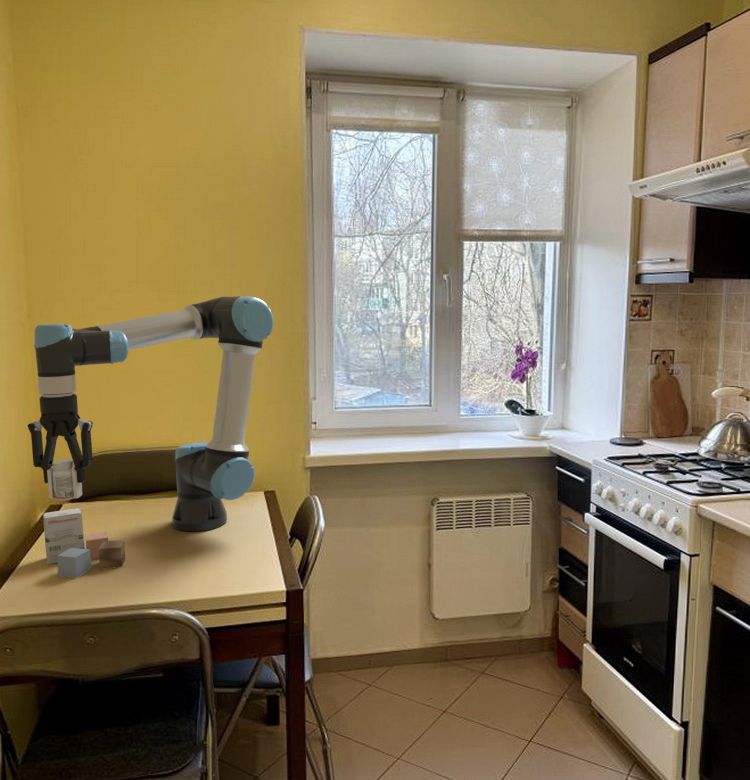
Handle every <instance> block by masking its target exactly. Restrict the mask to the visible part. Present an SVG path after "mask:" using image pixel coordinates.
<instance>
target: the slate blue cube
mask: <svg viewBox="0 0 750 780" xmlns="http://www.w3.org/2000/svg"><path fill="white" fill-rule="evenodd" d="M57 561H58V562H57V572H58V574H57V575H58V577H63V578H65V577H66V578H75V579H78V578H80V577H81V576H82V575H85V574H86V573H87V572H90V571H91V570H92V559H91V558H90V550H89V549H86V548H85V549H79V548H71V549H69V550H67V551H65V552H63V553H61V554H59V555H57Z"/></svg>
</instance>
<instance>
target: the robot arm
mask: <svg viewBox="0 0 750 780" xmlns="http://www.w3.org/2000/svg"><path fill="white" fill-rule="evenodd" d="M273 329H274V316H273V312H272V311H271V308H270V307H269V306H268V304H267V302H265V301H264V300H262V299H260V298H258V297H255V296H249V295H248V296H245V295H243V296H242V295H241V296H220V297H219V296H218V297H216V298H215V297H214V298H212V299H208V300H205V301H201V302H196V303H193V304H188V305H186V306H185V307H184V309H181V310H176V311H170V312H165V313H160V314H154V315H149V316H141V317H138V318H132V319H126V320H121V321H117V322H110V323H105V324H99V325H95V326H89V327H83V328H73V327H72V325H71V324H69V323H44V324H38V325H37V326H36V327H35V328H34V344H33V345H34V349H35V352H34V353H35V360H36V369H37V370H36V371H37V386H38V388H37V389H38V394H39V395H41V396H39V408H40V409H39V410H40V414H41V415H40V418H39V420H38V421H33V422H30V423H28V424H27V429H28V431H29V433H30V439H31V450H32V451H31V452H32V461H33V462H32V463H33V466H34V468H40V469H42V471H43V482H44V484H47V487H48V497H49V498H48V499H52V500H53V499H55V497H54V486H53V471H54V470H55V469H54V465H53V463H54V458H55V452H56V445H57V440H58V439H59V437H63V439H64V441H65V442H66V443H67V447H68V449H69V453H70V456H71V460H73V466H74V467H73V468H74V469H73V470H72V479H73V492H74V499H78V498H80V497H81V496H83V483H84V482H85V480H86V474H85V473H86V472H85V469H86V468H85V467H88V466H90V465H91V464H93V462H94V461H93V457H94V456H93V447H92V428H93V421H92V420H89V421H87V420H83V419H81V416H80V415H79V413H78V411H79V408H78V407H79V406H78V395H77V394H76V392H77V382H76V367H77V366H78V367H79V366H80V367H81V366H87V365H88V366H90V365H92V366H93V365H103V364H104V365H106V364H111V365H113V364H116V363H123V362H125V361H126V360H127V358H128V355H129V351H131V350H135V349H140V348H144V347H150V346H155V345H161V344H165V343H169V342H173V341H174V342H175V341H179V340H184V339H188V338H191V339H192V340H194V341H195V340H200V339H218V341H217V345H218V346H219V347H220V349H221V350H222V359H221V365H220V373H219V374H220V375H219V379H218V380H219V381H218V387H217V388H218V390H217V398H216V406H215V413H214V421H213V429H212V438H211V440H210V441H202V442H194V443H188V444H187V443H186V444H182V445H180V446H178V447H177V448H176V449H175V457H174V461H175V473H176V474H175V475H176V477H175V478H176V489H177V490H176V493H177V494H176V496H177V499H176V503H175V506H174V509H173V514H172V516H171V520H172V521H171V525H172V527H173V528H174V529H176V530H179V531H184V532H203V531H208V530H212V529H217V528H220V527H221V526H223V525H225V524H226V523H227V522H228V512H227V509H226V507H225V504H224V502H223V500H227V501H233V500H234V501H235V500H237V499H240V498H242V497H243V496H244V495H245V494H246V493H247V492H249V490H250V489H251V487H252V486H253V483H254V481H255V476H256V475H255V468H254V466H253V463H252V462H251V461H250V460H249V456H250V455H249V454H250V448H249V447H248V446H247V444H246V443H245V442H246V434H247V427H248V417H249V409H250V402H251V394H252V392H251V391H252V385H253V377H254V371H255V370H254V368H255V363H256V362H255V361H256V355H257V354H259V352H261V351H262V349H263V344H264V342H263V341H264V340H266V339H267V338H268V336H270V335H271V334H272V331H273ZM78 426H79V430H80V439H81V442H80V443H81V447H80V444H79V441H78V438H77V436H78V435H77V432H76V429H77V427H78ZM42 429H45V431H46V434H45V435H46V436H45V440H46V442H45V447H44V443H43V435H42V434H43V433H42ZM222 499H223V500H222Z"/></svg>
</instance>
